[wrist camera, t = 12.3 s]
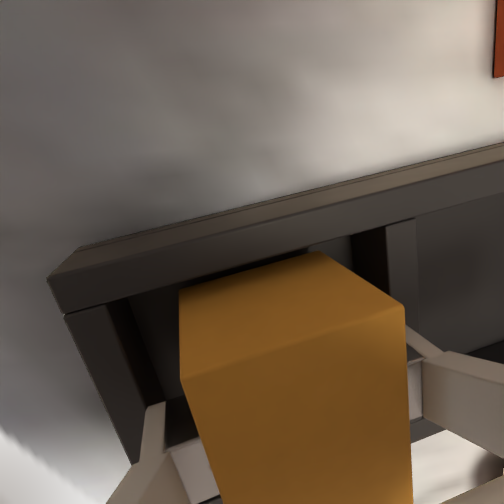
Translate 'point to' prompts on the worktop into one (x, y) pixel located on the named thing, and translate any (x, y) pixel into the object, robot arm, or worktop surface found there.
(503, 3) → the orange-red rectangular block
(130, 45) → the worktop surface
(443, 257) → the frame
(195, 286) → the yellow-orange rectangular block
